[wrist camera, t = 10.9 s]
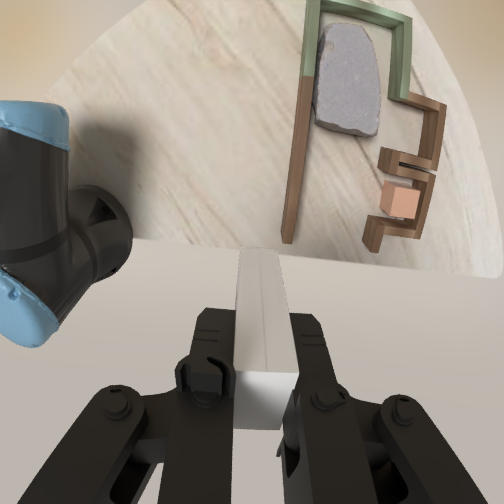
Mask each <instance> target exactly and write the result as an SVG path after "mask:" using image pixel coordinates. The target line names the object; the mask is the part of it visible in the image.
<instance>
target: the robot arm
mask: <svg viewBox="0 0 504 504" xmlns="http://www.w3.org/2000/svg"><path fill="white" fill-rule="evenodd" d="M69 151H70V146H69V116H68V113H67V112H66V110H65V109H64V108H63V107H61V106H59V105H56V104H51V103H43V102H32V101H0V333H1V334H2V335H3V336H5V337H6V338H7V339H9V340H11V341H12V342H14V343H16V344H18V345H21V346H23V347H28V348H35V347H39V346H41V345H43V344H44V343H45V342H46V341H47V340H48V339H49V337H50V336H51V335H52V334H53V333H54V332H56V331H57V330H58V329H59V326H60V325H61V323H62V322H63V321H64V319H65V318H66V317H67V315H68V314H69V312H70V311H71V310H72V308H73V307H74V306H75V305H76V303H77V302H78V301H79V300H80V298H81V297H82V296H83V294H84V293H85V292H86V290H87V289H88V288H89V287H90V286H91V285H92V284H94V283H96V282H99V281H101V280H103V279H105V278H108V277H110V276H112V275H113V274H115V273H116V272H117V271H118V270H119V269H120V268H121V267H122V265H123V264H124V263H125V262H126V260H127V259H128V257H129V255H130V252H131V248H132V240H133V237H132V228H131V224H130V221H129V218H128V216H127V214H126V212H125V210H124V209H123V207H122V206H121V204H120V203H119V202H118V201H117V199H116V198H115V197H114V196H112V195H111V194H110V193H108V192H107V191H105V190H104V189H102V188H99V187H96V186H92V185H81V186H77V187H75V188H73V189H71V190H69V191H68V157H69ZM323 336H324V335H323V331H322V328H321V324H320V323H319V322H318V321H317V320H316V318H315V317H314V316H313V315H312V314H301V313H289V311H288V305H287V300H286V294H285V289H284V283H283V278H282V273H281V268H280V263H279V258H278V252H277V249H269V248H257V247H246V246H240V257H239V268H238V280H237V291H236V302H235V310H227V309H215V308H205V309H204V310H203V311H202V313H201V314H200V315H199V316H198V317H197V321H196V327H195V330H194V336H193V340H192V344H191V349H190V354H189V355H188V356H186V357H185V358H183V359H182V360H181V361H179V362H178V364H177V366H176V368H175V378H176V385H177V387H176V388H174V389H173V390H171V391H168V392H166V393H161V394H155V395H145V396H140V394H139V393H138V392H137V391H135V390H134V389H132V388H131V387H128V386H124V385H110V386H108V387H105V388H103V389H101V390H100V391H99V392H98V393H96V394H95V395H94V397H93V398H92V399H91V400H90V402H89V403H88V404H87V406H86V407H85V408H84V410H83V411H82V412H81V414H80V415H79V416H78V418H77V419H76V420H75V422H74V423H73V425H72V426H71V427H70V429H69V430H68V431H67V433H66V434H65V435H64V437H63V438H62V440H61V441H60V443H59V444H58V445H57V447H56V448H55V449H54V451H53V452H52V453H51V455H50V456H49V458H48V459H47V460H46V462H45V463H44V465H43V466H42V468H41V469H40V470H39V472H38V473H37V475H36V476H35V478H34V479H33V481H32V482H31V483H30V485H29V486H28V488H27V489H26V491H25V492H24V494H23V495H22V497H21V498H20V500H19V501H18V503H17V504H137V503H138V501H139V499H140V497H141V495H142V493H143V491H144V489H145V487H146V485H147V483H148V482H149V479H150V478H151V476H152V474H153V472H154V470H155V468H156V466H157V464H158V463H164V466H163V471H162V478H161V484H160V490H159V496H158V503H157V504H231V481H232V446H233V445H232V444H233V428H234V429H254V430H255V429H256V430H280V428H281V425H282V422H283V432H284V436H283V438H282V441H281V443H280V445H279V448H278V450H277V455H276V456H277V457H280V455H281V458H282V472H283V487H284V502H285V504H488V503H487V501H486V500H485V498H484V497H483V495H482V493H481V492H480V490H479V489H478V487H477V486H476V484H475V483H474V481H473V480H472V478H471V476H470V475H469V473H468V472H467V470H465V467H464V466H463V465H462V463H461V462H460V460H459V459H458V457H457V456H456V454H455V453H454V451H453V450H452V448H451V447H450V445H449V444H448V443H447V441H446V440H445V438H444V437H443V435H442V434H441V433H440V431H439V430H438V428H437V427H436V426H435V424H434V423H433V421H432V420H431V419H430V417H429V416H428V414H427V413H426V412H425V410H424V409H423V408H422V406H421V405H420V404H419V403H418V402H417V401H416V400H415V399H413V398H411V397H409V396H406V395H400V394H398V395H393V396H390V397H389V398H387V399H385V400H384V402H383V403H382V404H376V403H371V402H366V401H361V400H358V399H355V398H353V397H351V396H350V395H349V393H348V391H347V390H346V389H345V388H344V387H343V386H341V385H340V384H338V382H337V380H336V377H335V373H334V369H333V366H332V362H331V359H330V355H329V352H328V348H327V346H326V342H325V338H324V337H323Z"/></svg>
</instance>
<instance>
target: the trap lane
mask: <svg viewBox="0 0 504 504" xmlns="http://www.w3.org/2000/svg"><path fill="white" fill-rule="evenodd" d="M320 10H323V11H328V12H332V13H337V14H341V15H346V16H350V17H354V18H357V19H361V20H365V21H368V22H372V23H375V24H378V25H382V26H385V27H388V28H391V29H392V45H391V62H390V76H389V87H388V97H387V98H388V99H391V100H395V101H398V102H401V103H405V104H408V105H411V106H414V107H417V108H420V109H423V110H425V111H424V119H423V126H422V134H421V140H420V146H419V152H418V156H416V155H412V154H409V153H405V152H401V151H397V150H393V149H389V148H384V147H381V149H380V155H379V161H378V167H377V168H379V169H381V170H383V171H385V172H387V173H390V174H395V175H399V176H404V177H408V178H412V179H413V184H412V187H414V188H416V189H418V190H419V191H420V196H419V200H418V205H417V209H416V214H415V218H414V219H410V218H404V220H397V219H391V218H385V217H378V216H372V215H368V217H367V221H366V226H365V230H364V234H363V238H362V241H363V243H364V244H365V245H366V247H367V248H368V249H369V251H370V252H373V253H378V252H379V249H380V245H381V241H382V237H383V234H385V235H392V236H400V237H407V238H414V239H420V238H421V234H422V231H423V227H424V223H425V220H426V216H427V212H428V208H429V204H430V200H431V196H432V192H433V187H434V183H435V178H436V175H434V174H432V173H429V172H427V171H425V170H422V169H418V168H414V167H410V166H406V165H402V164H399V161H400V162H404V163H408V164H412V165H416V166H420V167H423V168H427V169H431V170H434V171H437V168H438V163H439V157H440V152H441V146H442V139H443V133H444V125H445V117H446V108H447V105H445V104H443V103H440V102H437V101H435V100H432V99H430V98H427V97H424V96H421V95H419V94H416V93H413V92H410V91H409V85H410V72H411V55H412V18H411V17H408V16H406V15H403V14H400V13H398V12H395V11H392V10H389V9H386V8H383V7H380V6H377V5H374V4H370V3H367V2H363V1H360V0H306V12H305V24H304V35H303V46H302V57H301V67H300V77H299V87H298V96H297V105H296V114H295V123H294V132H293V140H292V149H291V157H290V165H289V173H288V181H287V189H286V196H285V204H284V211H283V219H282V226H281V236H282V242H283V243H284V244H292V241H293V235H294V228H295V222H296V215H297V209H298V202H299V195H300V188H301V181H302V174H303V166H304V159H305V151H306V143H307V135H308V127H309V119H310V110H311V101H312V92H313V83H314V73H315V62H316V52H317V40H318V28H319V15H320Z"/></svg>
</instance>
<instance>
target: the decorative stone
mask: <svg viewBox="0 0 504 504" xmlns="http://www.w3.org/2000/svg"><path fill="white" fill-rule="evenodd" d="M311 102H312V104H313V107H314V112H315V115H316V117H315V121H314V123H315V124H318V125H320V126H322V127H325V128H327V129H331V130H333V131H337V132H343V133H346V134H354V135H358V136H362V137H374V136H376V135H377V132H378V127H379V117H378V115H379V113H380V105H381V97H380V82H379V72H378V66H377V60H376V55H375V52H374V47H373V44H372V41H371V39H370V38H369V36H368V34H367V33H366V31H365V30H364V28H363V27H362V26H359V25H355V24H346V23H344V24H342V23H338V24H329V25H327V26H326V27H325V28H324V32H323V34H322V36H321V39H320V42H319V45H318V46H317V52H316V62H315V73H314V83H313V92H312V101H311Z"/></svg>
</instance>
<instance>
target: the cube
mask: <svg viewBox="0 0 504 504" xmlns="http://www.w3.org/2000/svg"><path fill="white" fill-rule="evenodd" d="M419 196H420V191H419V190H418V189H416V188H414V187H412V186H410V185H409V184H404V183H399V182H393V181H387V180H384V185H383V190H382V196H381V201H380V206H379V207H380V208H381V209H383V210H384V211H385V212H386V213H387V214H388V215H390V216H396V217H403V218H410V219H414V218H415V214H416V209H417V205H418V200H419Z"/></svg>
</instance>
